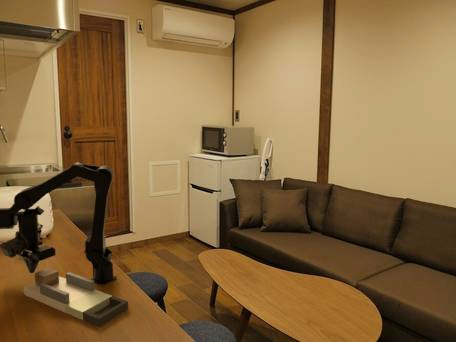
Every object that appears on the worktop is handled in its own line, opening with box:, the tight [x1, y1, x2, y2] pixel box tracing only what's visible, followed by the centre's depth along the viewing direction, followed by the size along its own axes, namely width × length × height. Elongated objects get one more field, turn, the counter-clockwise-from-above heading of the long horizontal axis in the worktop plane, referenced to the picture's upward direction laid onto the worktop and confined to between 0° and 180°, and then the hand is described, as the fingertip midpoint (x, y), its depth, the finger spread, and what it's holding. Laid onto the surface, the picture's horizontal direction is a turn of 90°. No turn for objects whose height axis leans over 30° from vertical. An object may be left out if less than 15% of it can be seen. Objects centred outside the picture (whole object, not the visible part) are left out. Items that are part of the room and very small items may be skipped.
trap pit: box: [82, 295, 129, 328], centre depth 112 cm, size 6×11×2 cm, turn 150°
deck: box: [23, 275, 112, 321], centre depth 120 cm, size 28×11×2 cm, turn 60°
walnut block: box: [34, 267, 60, 287], centre depth 125 cm, size 5×5×4 cm
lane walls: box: [40, 271, 96, 304], centre depth 120 cm, size 12×10×3 cm
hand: (32, 272), depth 129 cm, fingers closed
